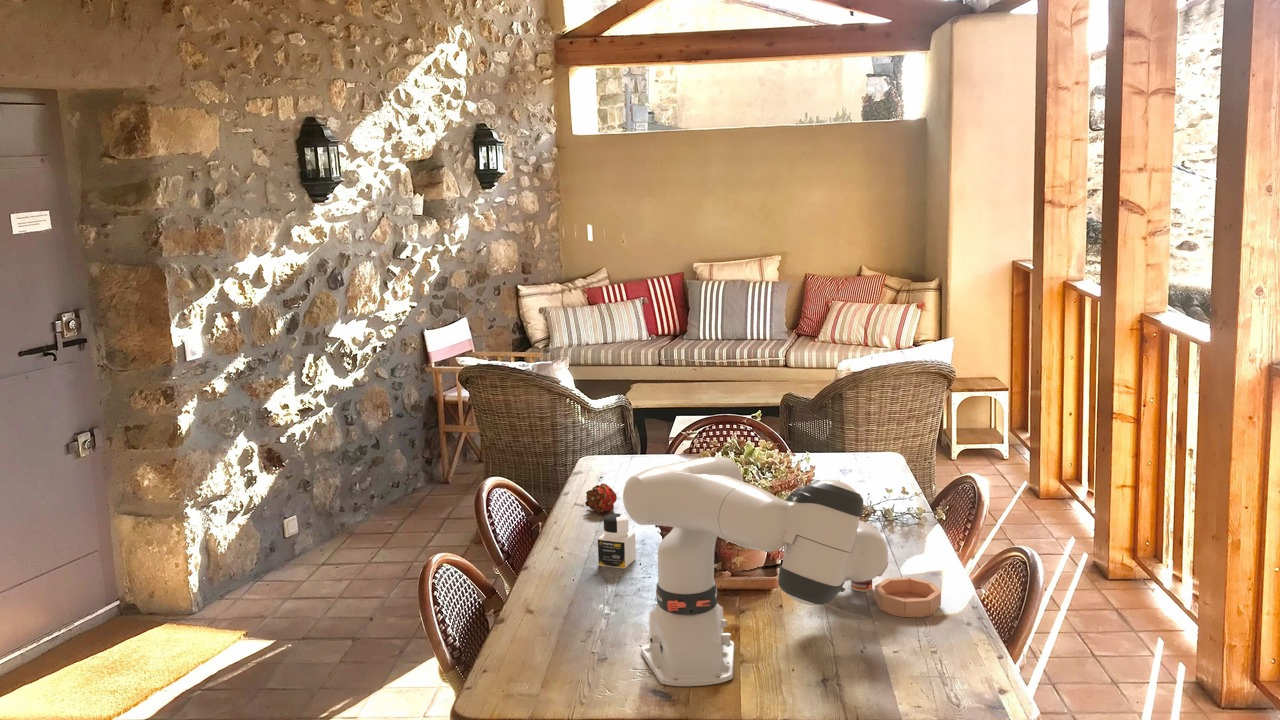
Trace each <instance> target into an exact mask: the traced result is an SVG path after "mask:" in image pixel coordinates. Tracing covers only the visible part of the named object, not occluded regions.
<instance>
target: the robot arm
mask: <svg viewBox="0 0 1280 720" xmlns="http://www.w3.org/2000/svg"><path fill="white" fill-rule="evenodd" d="M622 492H623V493H622V502H623V507H624V509H625V511H626V513H627V515H628V516H629V518H630V519H631V520H632V521H633V522H634V523H636V524H638V525H641V526H664V527H671V528H672V529H671V531H669V533H667V535H665V536H664V538H662V539H661V541H660V542H659V545H658V548H657V577H658V579H657V583H656V589H655V595H656V605H655V606H654V608H653V609H651V611H650V612H649V643H647V644H645V645H643V646H641V648H640V654H641V656H642V658H644V660H645V662H646V663H647V664H648V665H647V666H649V668H650V670H651V671H652V672H653V674H654V675H655V677H656V679H657V680H658V682H659V683H660V684H662V685H667V686H673V687H699V686H702V687H703V686H710V685H711V686H712V685H717V684H721V683H725V682H727V681H729V680H732V679H733V677H734V663H735V643H734V640H731V633H729V632H724V628H727V626H728V619H724V608H723V606H721V605H720V604H719V603H718V588H717V583H716V581H715V550H716V549H715V548H716V543H717V538H720V539H722V540H725V541H726V542H727V541H729V542H731V543H734V544H736V545H739V546H741V547H744V548H748V549H752V550H758V551H765V552H772V551H776V550H779V549H781V548H782V547H783V548H784V547H785V548H784V549H785V553H784V557H783V563H781V566H779V571H778V579H777V580H778V586H779V587H780V589H781V591H782V592H783V593H785V594H786V595H787V596H788V597H789V598H791V599H792V600H793V601H796V602H797V603H799V604H803V605H805V606H807V605H808V606H815V605H816V606H817V605H819V606H824V605H827V604H828V603H829V602H832V601H833V600H834V599H835V598H836V596H838V594H839V593H844V592H845V590H846V588H845V587H843V586H844V585H845V582H849V581H850V582H851V581H855V582H864V581H869V580H871V579H872V580H873V579H875V578H877V577H882V576H883V575H884V573H885V572H886V570H887V569H888V566H889V562H888V561H889V560H888V559H889V550H888V545H887V543H886V540H885V538H884V536H883V535H882V534H881V533H880V531H879V530H877V529H876V527H874V526H873V525H871V524H870V523H867V522H865V521H863V520H860V518H863V514H864V498H863V497H862V495H861V494H860V493H859V492H857V491H856V490H855V489H854V488H853V487H851V485H849V484H847V483H845V482H843V481H841V480H836V479H824V480H819V479H817V480H814V481H812V482H810V483H807V484H805V486H799V487H797V488H796V489H794V490H793V491H792V492H791V493H789V495H788V496H787V497H786V498H785V499H782V498H780V497H777V496H776V495H775V494H773V493H770V492H769V491H767V490H765V489H763V488H761V487H758V486H756V485H755V484H754V485H753V484H750V483H749V482H745V481H744V477H743V474H742V471H741V469H740V467H739V466H738V465H737V463H735V462H734V461H733V459H731V458H729V457H723V456H722V457H721V456H704V457H699V458H695V459H694V458H693V459H690V460H685V461H680V462H675V463H671V464H669V463H668V464H665V465H660V466H654V467H650V468H648V469H645V470H643V471H641V472H638V473H637V474H634V475H632V476H630V477H629V478H628V479H627V481H626V483H625V485H624V488H623V491H622Z"/></svg>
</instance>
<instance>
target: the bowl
mask: <svg viewBox="0 0 1280 720" xmlns="http://www.w3.org/2000/svg"><path fill="white" fill-rule="evenodd" d="M874 600H875V601H876V606H877V608H878V609H879V610H880V609H881V610H880V611H881V612H883V613H885V614H887V613H888V615H890V616H893V615H894V616H893V617H898V616H900V618H904V617H921V618H925V616H926V617H929V616H928V615H930V616H932V615H934V614H935V613H934V612H936V611H937V609H938V610H939V607H941V606H942V591H941V590H940V589H939V588H938V587H937V585H935V584H934V582H932V581H928V580H923V579H919V578H915V577H911V576H909V577H892V578H891V577H889V578H885V579H884V580H882V581H880V582H879V583H877V584H875V585H874ZM937 612H938V611H937ZM937 612H936V613H937ZM933 613H934V614H933ZM931 614H932V615H931Z"/></svg>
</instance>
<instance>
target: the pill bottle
mask: <svg viewBox="0 0 1280 720" xmlns="http://www.w3.org/2000/svg"><path fill="white" fill-rule="evenodd" d="M850 587H851V589H852V590H853V591H856V592H860V591H861V592H862V593H863V592H864V593H865V591H867V592H869V591H871V590H872V589H873V579H871V580H869V581H864V582H855V581H850ZM861 592H860V593H861Z"/></svg>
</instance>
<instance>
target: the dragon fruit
mask: <svg viewBox="0 0 1280 720" xmlns="http://www.w3.org/2000/svg"><path fill="white" fill-rule="evenodd" d="M611 487H612V486H611ZM611 487H610V486H609V485H608V484H607V483H604V482H603V483H600V485H599V484H597V485H595V486H593V487H592V489H590V490H587V491H586V494H585V495H586V496H585V497H586V498H585V499H586V500H585V502H584V504H585V506H586V507H588V508H589V509H590V510H593V511H594V512H595V513H597V514H601V515H602V514H604V513H605V511H607V512H609V511H613V510H614V509H615V506H614V504H615V503H616V502H617V499H618V496H617V494H616V492H615V491H614V490H613V488H611Z"/></svg>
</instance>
